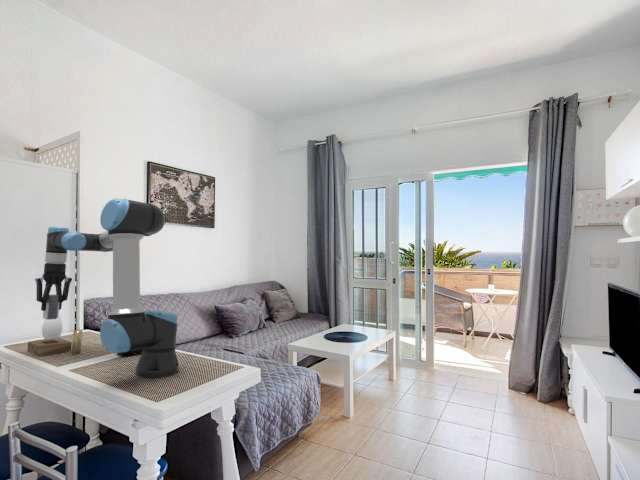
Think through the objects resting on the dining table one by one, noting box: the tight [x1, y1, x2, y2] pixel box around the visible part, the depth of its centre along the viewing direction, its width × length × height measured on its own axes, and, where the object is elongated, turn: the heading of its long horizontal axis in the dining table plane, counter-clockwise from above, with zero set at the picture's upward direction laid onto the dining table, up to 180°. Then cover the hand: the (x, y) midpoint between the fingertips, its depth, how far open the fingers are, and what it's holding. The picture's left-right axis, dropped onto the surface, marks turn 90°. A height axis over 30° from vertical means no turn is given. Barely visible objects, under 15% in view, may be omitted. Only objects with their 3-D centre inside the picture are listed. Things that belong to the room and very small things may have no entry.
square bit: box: [47, 294, 59, 320], centre depth 160 cm, size 3×3×10 cm
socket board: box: [27, 337, 73, 357], centre depth 164 cm, size 12×12×4 cm
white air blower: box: [41, 313, 63, 340], centre depth 179 cm, size 8×8×18 cm
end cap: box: [116, 348, 143, 357], centre depth 166 cm, size 10×7×7 cm
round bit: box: [71, 329, 83, 356], centre depth 162 cm, size 3×3×10 cm
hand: (50, 317), depth 160 cm, fingers closed on square bit, 3 cm apart
